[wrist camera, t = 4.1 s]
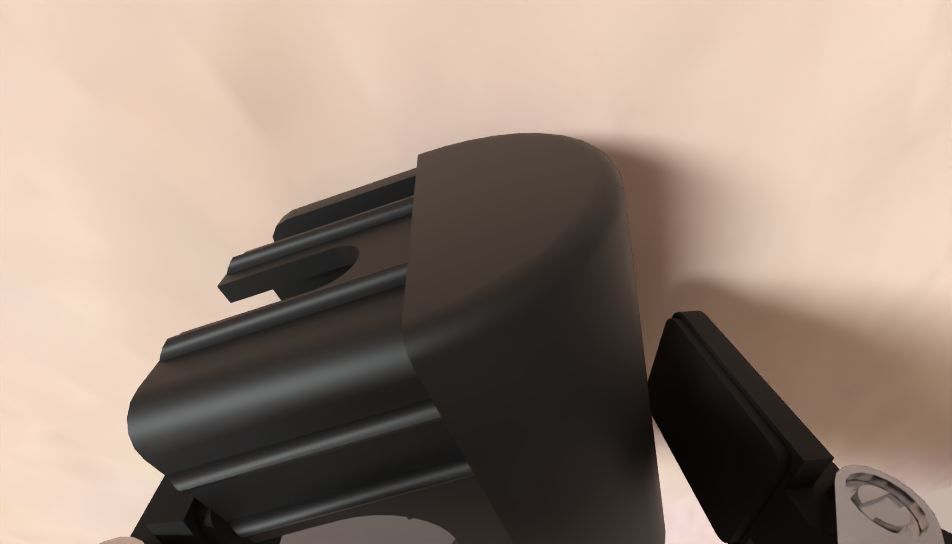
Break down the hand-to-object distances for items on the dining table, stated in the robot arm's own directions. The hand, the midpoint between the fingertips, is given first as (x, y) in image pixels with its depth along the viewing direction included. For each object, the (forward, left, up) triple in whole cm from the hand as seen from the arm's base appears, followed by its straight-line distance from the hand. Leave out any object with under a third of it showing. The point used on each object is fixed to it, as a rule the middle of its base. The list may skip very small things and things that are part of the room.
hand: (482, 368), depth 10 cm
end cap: (0, 0, -3) cm, 3 cm away
